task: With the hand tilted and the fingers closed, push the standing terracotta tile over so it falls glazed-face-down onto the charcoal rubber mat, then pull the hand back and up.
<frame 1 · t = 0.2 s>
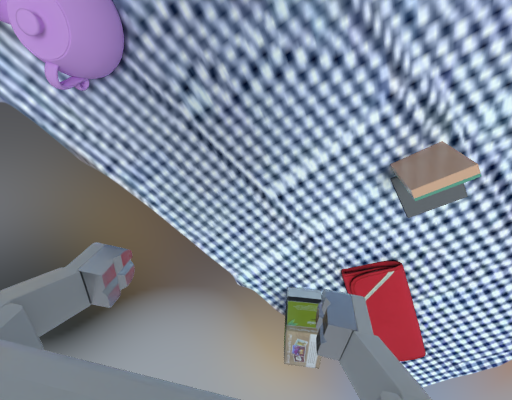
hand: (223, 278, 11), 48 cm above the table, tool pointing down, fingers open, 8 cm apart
dish drying mat: (384, 311, 78), on the table
teapot: (79, 25, 51), on the table
tile: (417, 158, 54), on the table
tea box: (302, 303, 81), on the table
mat: (428, 186, 56), on the table
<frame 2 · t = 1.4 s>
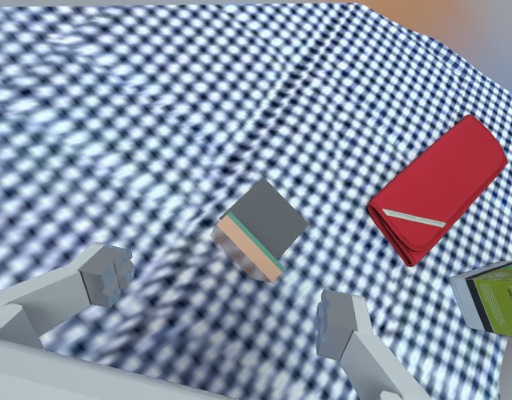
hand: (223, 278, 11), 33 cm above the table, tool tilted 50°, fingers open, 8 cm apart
dish drying mat: (437, 184, 59), on the table
tile: (235, 251, 44), on the table
tea box: (480, 292, 54), on the table
mat: (265, 221, 47), on the table
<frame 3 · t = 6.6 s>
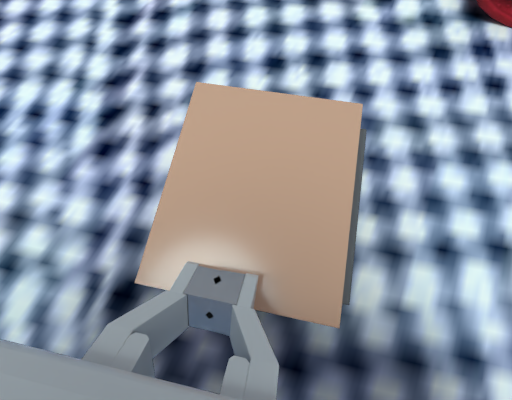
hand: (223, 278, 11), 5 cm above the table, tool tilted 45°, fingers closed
tile: (235, 302, 14), point 2 cm above the table, tilted 90°, touching mat
mat: (261, 195, 17), on the table
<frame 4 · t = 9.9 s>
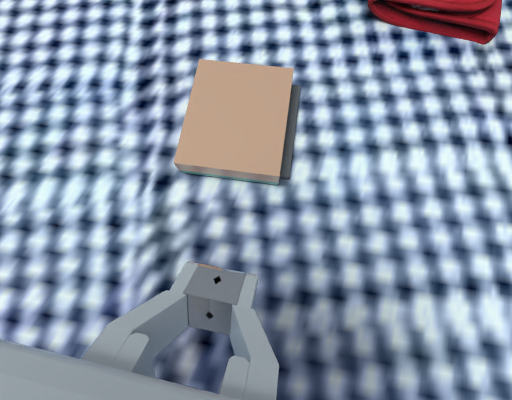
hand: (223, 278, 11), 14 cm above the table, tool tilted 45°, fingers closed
tile: (227, 174, 25), point 2 cm above the table, tilted 90°, touching mat
mat: (240, 125, 29), on the table
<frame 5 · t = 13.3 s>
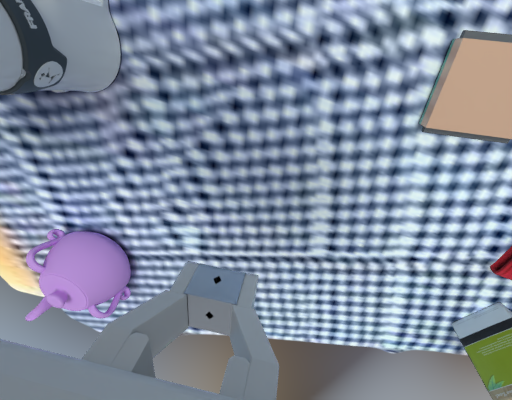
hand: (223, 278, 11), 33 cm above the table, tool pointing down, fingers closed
teapot: (98, 258, 63), on the table
tile: (438, 85, 33), point 2 cm above the table, tilted 90°, touching mat
tea box: (495, 330, 52), on the table
mat: (485, 90, 34), on the table
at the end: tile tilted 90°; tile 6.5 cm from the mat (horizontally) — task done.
